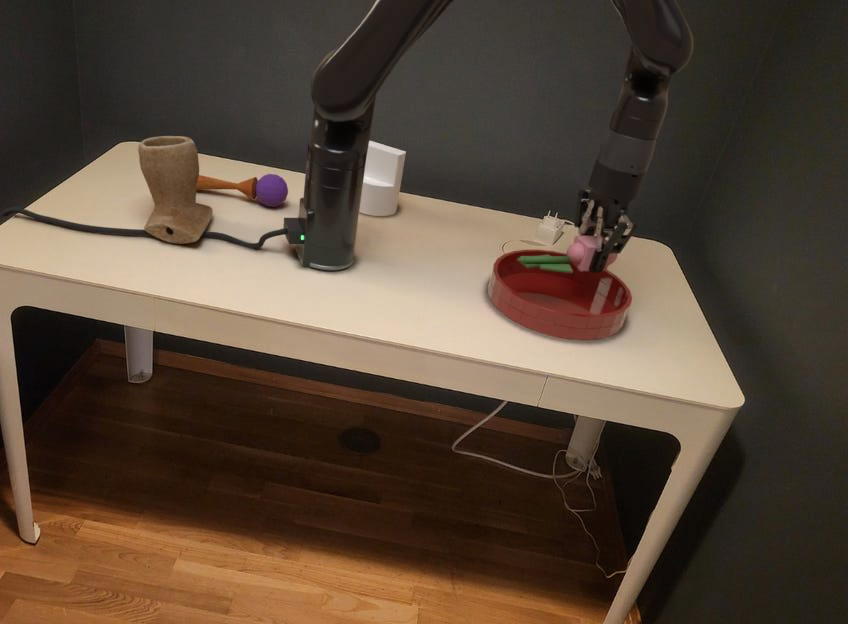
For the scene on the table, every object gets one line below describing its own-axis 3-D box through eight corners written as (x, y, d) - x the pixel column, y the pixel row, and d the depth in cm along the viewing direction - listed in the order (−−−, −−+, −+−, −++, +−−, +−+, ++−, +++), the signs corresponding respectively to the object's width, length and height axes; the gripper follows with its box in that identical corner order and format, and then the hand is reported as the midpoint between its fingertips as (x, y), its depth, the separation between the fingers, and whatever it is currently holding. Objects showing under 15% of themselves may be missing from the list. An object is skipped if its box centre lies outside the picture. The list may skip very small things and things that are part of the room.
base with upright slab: (343, 206, 145) (350, 146, 139) (365, 194, 152) (373, 136, 146) (383, 220, 142) (392, 159, 136) (404, 207, 149) (414, 148, 143)
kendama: (190, 162, 143) (291, 173, 141) (190, 193, 145) (290, 205, 143) (178, 166, 137) (283, 178, 135) (178, 199, 140) (282, 210, 138)
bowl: (523, 344, 111) (530, 319, 108) (467, 273, 128) (472, 249, 126) (649, 339, 117) (659, 314, 115) (580, 271, 135) (587, 249, 132)
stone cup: (152, 205, 134) (150, 122, 126) (218, 214, 134) (220, 132, 126) (125, 240, 121) (120, 151, 113) (198, 251, 122) (198, 162, 114)
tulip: (525, 273, 114) (532, 248, 112) (509, 256, 118) (516, 232, 116) (620, 273, 119) (628, 249, 117) (601, 256, 124) (609, 233, 121)
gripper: (577, 144, 115) (546, 244, 124) (626, 179, 104) (589, 286, 113) (618, 146, 117) (585, 245, 127) (671, 181, 106) (630, 286, 115)
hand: (587, 264), depth 120 cm, fingers closed on tulip, 4 cm apart
